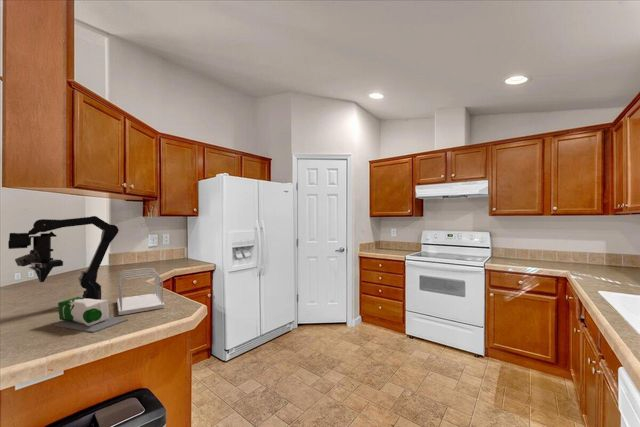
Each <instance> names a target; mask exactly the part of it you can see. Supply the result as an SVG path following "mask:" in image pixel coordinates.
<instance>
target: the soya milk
mask: <svg viewBox="0 0 640 427" xmlns="http://www.w3.org/2000/svg"><path fill="white" fill-rule="evenodd" d="M57 305H58V307H57V309H58V317H59V320H60V321H72V322H77V323H83V324H85V325H87V326H91V325H93V324H96V323H98V322H101V321H103V320H105V319H108V318H109V316H110V311H109V310H110V309H109V300H108V299H101V300H95V299H88V298H83V297H82V296H81V297H80V296H76V297H73V298H68V299H66V300H63V301H60V302H57Z"/></svg>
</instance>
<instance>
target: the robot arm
mask: <svg viewBox="0 0 640 427" xmlns="http://www.w3.org/2000/svg"><path fill="white" fill-rule="evenodd" d="M85 225H86V226H87V225H94V226H95V227H96V228H98V229H100V230H101V236H100V241H99V243H98V246H97V248H96V250H95V252H94V255H93V257H92V258H91V261H90V263H89V266H88V267H87V269H85V271H84V270H82V271H80V275H79V277H78V283H79V285H80V287H81V288H82V289H85V290H84V291H83V293H82V298H88V299H95V300H102V285H100V283H99V282H98V281H97V278H98V271H99V268H100V266H101V264H102V263H103V262H102V261H103V260H104V257H105V255H106V253H107V250H108V248H109V246H110V244H111V243H112V242H113V240H114V239H115V238H116V236H117V235H118V234H119V227H118V226H117V225H115V224H110V223H108V222H106V221H104V220H103V219H101V218H100V217H99V216H96V215H92V216H86V217H85V216H84V217H77V218H76V217H75V218H74V217H73V218H67V219H66V218H65V219H48V218H47V219H46V218H45V219H44V218H43V219H40V218H39V219H38V220H36V221H34V223H33V226H32V228H31V229H30V230H28V232H10V233H9V237H8V250H15V249H28V247H30V246H31V245H32V249H31V250H29V253H28V254H25V255H22V256H20V257H17V258H15V259H14V261H15V263H16V265H17V267H27V266H29V265H30V266H29V267H28V268H29V269H31V270H33V271H34V272H35V274H36V276H37V279H38V282H40V283H44V282H45V281H46V279H47V278H48V277H49V274H50V273H51V272H52V270H53V268H56V267H63V266H64V261H63V260H62V259H54V257H52V256H51V255H52V252H54V249H53V248H52V238H53V237H57V234H55V233H54V232H53V231H54V230H58V229H62V228H70V227H79V226H85ZM39 233H40V234H39ZM36 234H39V235H36Z"/></svg>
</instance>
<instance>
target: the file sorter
mask: <svg viewBox="0 0 640 427" xmlns="http://www.w3.org/2000/svg"><path fill="white" fill-rule="evenodd" d="M150 278H154V293H148V294H142V295H135V296H125V297H123V285H124V283H125V282H126V281H129V280H130V281H131V280H141V279H142V280H143V279H150ZM163 290H164V281H163V278H162V277H161V276H160V275H159V273H158V272H157V271H156V270H155V268H153V267H145V268H136V269H125V270H122V271H121V272H119V274H118V298H116V305H117V312H118V316H123V315H130V314H134V313H135V314H136V313H141V312H148V311H154V310H159V309H165V303H164V300H163V299H164V298H163V297H164V295H163V292H164V291H163Z"/></svg>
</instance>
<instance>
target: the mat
mask: <svg viewBox="0 0 640 427" xmlns="http://www.w3.org/2000/svg"><path fill="white" fill-rule="evenodd" d="M127 321H129V319H128V318H122V317H115V316H110V315H109V318H108V319H105V320H103V321H101V322H98V323H96V324H93V325H91V326H87V325H85V324H83V323H77V322H72V321H66V320H63V321H61V322H58V323H54V324H53V326H54V327H59V328H60V327H61V328H64V329H70V330H71V329H72V330H76V331H82V332H86V333H87V332H88V333H92V334H94V333H97V332H101V331H103V330H106V329H109V328H111V327H114V326H116V325H119V324H122V323H125V322H127Z"/></svg>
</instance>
